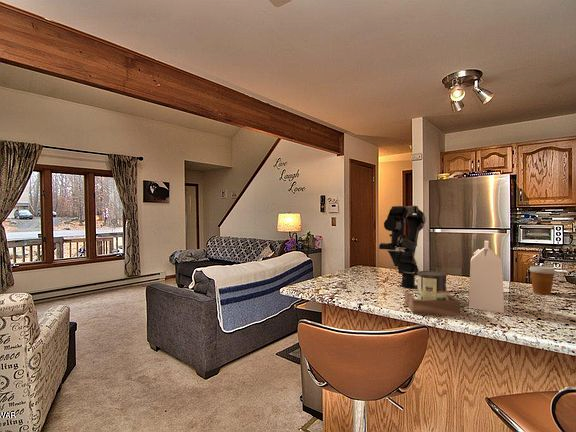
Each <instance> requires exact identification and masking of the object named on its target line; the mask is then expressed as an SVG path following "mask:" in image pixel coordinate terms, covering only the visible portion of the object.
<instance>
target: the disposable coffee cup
mask: <svg viewBox="0 0 576 432" xmlns="http://www.w3.org/2000/svg"><path fill="white" fill-rule="evenodd" d="M528 270H529V272H530V278H531V285H532V286H531V287H532V291H533V293H534V294H537V295H542V296H550V295H551V294H552V288H553V284H554V283H553V282H554V276H555V273H557V272H556V270H555V267H551V266H545V265H530V267H529V268H528Z"/></svg>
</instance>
